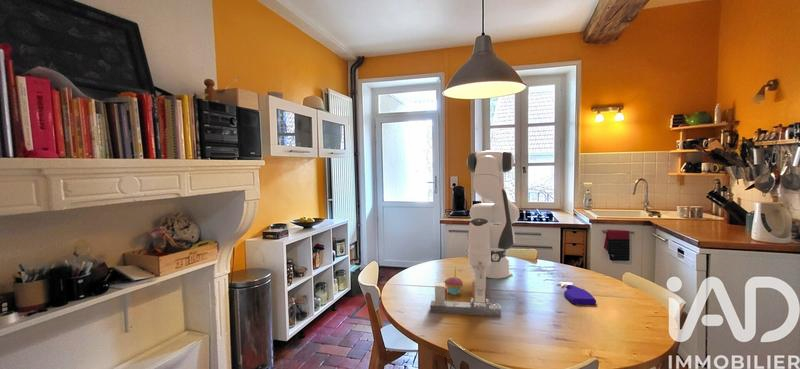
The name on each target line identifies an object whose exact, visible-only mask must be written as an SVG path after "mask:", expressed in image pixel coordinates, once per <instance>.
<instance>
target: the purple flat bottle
mask: <svg viewBox="0 0 800 369" xmlns="http://www.w3.org/2000/svg"><path fill="white" fill-rule="evenodd" d="M556 285H559V286H560V287H561V288H562V287H566V290H564V292H563V295H564V297H565V298H566V299H567V300H568V301H569V302H570V303H571V304H574V305H576V304H577V305H578V306H595V305H597V300H596V298H595V297H594V296H593V295H592V294H591V293H590V292H589V291H587V290H585V289H584V288H581V287H579V286H576V285H574V282H569V281H568V282H564V281H559V282H558V281H557V282H556ZM577 305H576V306H577Z"/></svg>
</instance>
